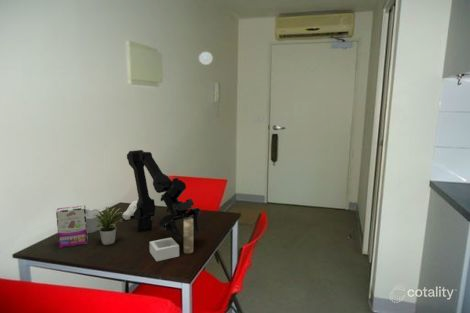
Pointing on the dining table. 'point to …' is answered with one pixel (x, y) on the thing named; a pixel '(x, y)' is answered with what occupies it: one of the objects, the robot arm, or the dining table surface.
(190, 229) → the dowel
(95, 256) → the dining table surface
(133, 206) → the penguin figurine
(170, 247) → the end cap
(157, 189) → the robot arm
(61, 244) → the candy bar box
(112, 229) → the house plant
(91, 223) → the lumpy-topped squat cylinder
